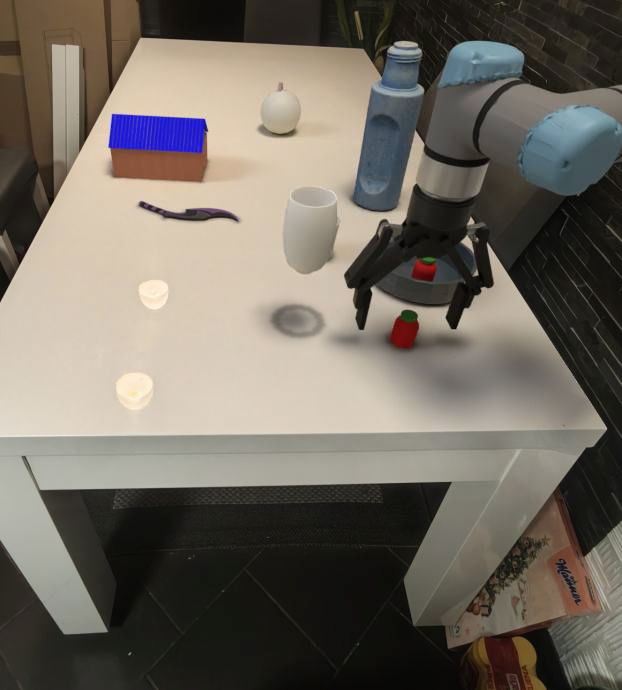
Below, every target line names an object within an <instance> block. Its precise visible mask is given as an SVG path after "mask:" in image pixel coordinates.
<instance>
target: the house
mask: <svg viewBox="0 0 622 690" xmlns="http://www.w3.org/2000/svg"><path fill="white" fill-rule="evenodd" d="M110 118H111V119H110V128H109V137H108V146H107V148H108V149H109V150H110V157H111V163H112V172H113V177H114V178H121V179H122V178H123V179H141V180H160V181H176V182H177V181H178V182H196V183H202V182H203V178H204V175H205V172H206V168H207V164H208V133H209V128H208V125H207V121H206V118H200V117H199V118H198V117H183V116H182V117H180V116H165V115H164V116H161V115H143V114H142V115H141V114H126V113H125V114H123V113H122V114H121V113H111V117H110Z"/></svg>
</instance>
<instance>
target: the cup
mask: <svg viewBox="0 0 622 690" xmlns="http://www.w3.org/2000/svg"><path fill="white" fill-rule="evenodd" d="M337 217H338V197H337V195H336V193H334V191H332V190H330V189H329V188H326V187H322V186H318V185H302V186H297V187H295V188H294V189H292V190H291V191H290V192H289V196H288V198H287V202H286V206H285V210H284V219H283V226H282V247H283V252H284V253H283V254H284V257H285V260H286V264H287V265H288V266H289V267H290V268H291V269H293V270H294V271H296V272H297V273H298V274H301V275H310V274H313V273H315V272H318V271H320V270H322V269H323V267H324V266H325V264H326V262H327V261H328V260H329V259H328V257H329V255H330V252H331V249H332V246H333V243H334V241H335V242H336V239H335V235H336V226H337ZM336 236H337V235H336ZM334 244H335V243H334ZM327 259H328V260H327ZM326 260H327V261H326Z"/></svg>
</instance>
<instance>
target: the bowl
mask: <svg viewBox="0 0 622 690" xmlns="http://www.w3.org/2000/svg"><path fill="white" fill-rule="evenodd" d="M401 237H402V236H401V235H398V236H396V237H395V239H394V241H393V242H389V245H388V246H387V248H386V249H385V251H384V252H383V253H382V254H381V256H380V257H379V258H381V257H382V256H383V255H384V254H385V253H387V252H388V251H389V250H390V249H391V248H393V246H394V244H395V242H397V241H398V240H399V239H400V238H401ZM455 248H456V250H457V251H458V253H459V254H460V256H461V258H462V259H463V261H464V263H465V264H466V266H467V267H468V269H469V271H470V272H471V274H472V275H473V276H476V274H477V272H478V271H477V266H476V261H475V256H474V251H473V249H471V248H469V247H468V246H467V245H466V244H464V243H463V242H462V241H461V242H460V243H459V244H457V245H456V246H455ZM407 249H408V247H407V246H406V247H405V248H404V250H405V251H406V250H407ZM379 258H378V259H379ZM378 259H377V260H378ZM419 259H420V258H416V256H414V257H413V258H412V259H411V260H409V261H408V262H406V263H402V264H401V265H399V266H398V267H397V268H395V269H394V270H393V271H392V272H390V273H389V274H388V275H387V276H385V277H384V278H383V279H382V280H380V281H379V282H378V283H377V284H376V285H378V287H380V288H381V289H383V290H384V291H386V292H388V293H389V294H391V295H393V296H394V297H397V298H400V299H403V300H406V301H409V302H414V303H420V304H425V305H430V304H431V305H433V304H437V305H438V304H447V303H451V301H452V298H453V295H454V292H455V290H456V287H457V284H458V282H464V284H465V281H464V279H463V278H462V276H461V275H460V273H459V271H458V270H457V268H456V267H455V265H454V264H453V262H452V261H451V259H450V257H449V256H448V254H446V255H444V256H441V257H440V258H436V260H435V264H436V267H437V269H436V273H435V277H434V280H433V282H430V281H423V280H417V279H413V278H411V276H412V272H413V269H414V265H415V263H416V262H417V261H418V260H419Z"/></svg>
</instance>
